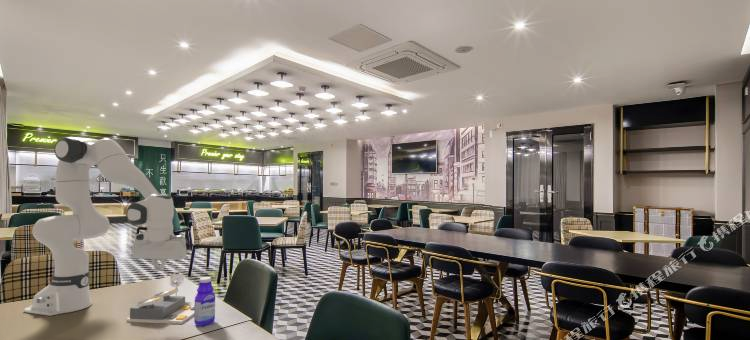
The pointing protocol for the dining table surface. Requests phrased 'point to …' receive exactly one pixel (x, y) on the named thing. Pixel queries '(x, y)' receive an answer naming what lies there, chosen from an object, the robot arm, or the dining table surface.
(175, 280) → the wineglass
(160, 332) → the dining table surface
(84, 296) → the robot arm
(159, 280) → the dining table surface
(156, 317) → the switch unit
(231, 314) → the dining table surface
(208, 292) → the bottle
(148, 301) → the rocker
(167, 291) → the rocker
